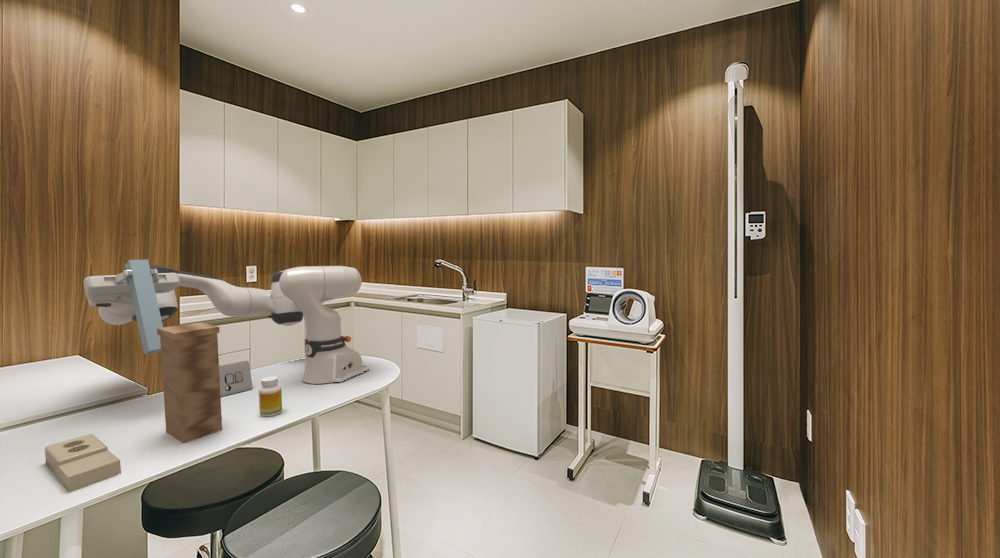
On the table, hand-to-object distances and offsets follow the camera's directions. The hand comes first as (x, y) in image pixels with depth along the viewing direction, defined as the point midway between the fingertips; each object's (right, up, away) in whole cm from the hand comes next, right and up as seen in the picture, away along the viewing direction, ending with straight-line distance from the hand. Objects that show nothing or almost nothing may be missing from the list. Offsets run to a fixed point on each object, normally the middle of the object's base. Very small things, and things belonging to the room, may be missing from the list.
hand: (141, 271), depth 110 cm
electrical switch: (+15, -38, +15) cm, 43 cm away
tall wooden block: (+24, -40, -12) cm, 48 cm away
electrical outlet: (+13, -42, -28) cm, 52 cm away
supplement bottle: (+36, -39, -1) cm, 53 cm away
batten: (0, -10, +1) cm, 10 cm away
